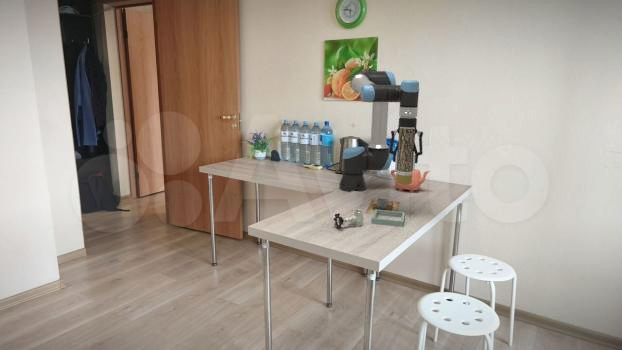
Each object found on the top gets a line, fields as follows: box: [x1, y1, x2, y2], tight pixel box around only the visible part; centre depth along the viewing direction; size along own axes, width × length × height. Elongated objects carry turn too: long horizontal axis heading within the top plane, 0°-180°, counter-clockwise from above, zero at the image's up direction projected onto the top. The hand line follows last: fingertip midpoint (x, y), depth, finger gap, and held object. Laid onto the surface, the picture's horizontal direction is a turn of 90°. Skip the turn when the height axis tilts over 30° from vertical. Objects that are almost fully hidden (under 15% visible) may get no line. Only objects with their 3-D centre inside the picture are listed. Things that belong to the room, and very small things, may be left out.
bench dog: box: [376, 198, 388, 210], centre depth 183 cm, size 4×3×6 cm
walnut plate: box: [372, 199, 394, 211], centre depth 189 cm, size 9×7×3 cm
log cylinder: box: [395, 127, 416, 184], centre depth 175 cm, size 7×7×25 cm
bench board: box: [365, 199, 401, 215], centre depth 191 cm, size 14×22×1 cm, turn 164°
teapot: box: [390, 168, 431, 193], centre depth 224 cm, size 17×16×13 cm
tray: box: [370, 209, 406, 228], centre depth 173 cm, size 13×13×3 cm
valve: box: [333, 209, 364, 230], centre depth 166 cm, size 7×7×12 cm
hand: (404, 169), depth 177 cm, fingers closed on log cylinder, 7 cm apart
